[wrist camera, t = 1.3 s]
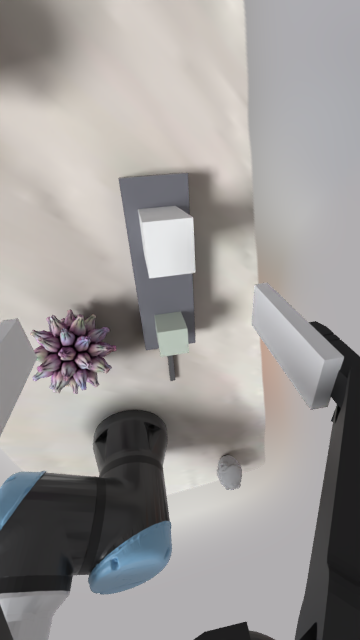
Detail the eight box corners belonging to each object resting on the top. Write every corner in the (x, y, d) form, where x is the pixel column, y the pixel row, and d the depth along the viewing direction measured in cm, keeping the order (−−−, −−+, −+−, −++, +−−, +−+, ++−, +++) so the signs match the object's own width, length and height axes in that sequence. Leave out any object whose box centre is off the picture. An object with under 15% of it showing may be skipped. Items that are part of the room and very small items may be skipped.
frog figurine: (211, 468, 67) (219, 496, 61) (214, 450, 64) (224, 479, 58) (234, 465, 69) (244, 493, 63) (238, 447, 65) (249, 475, 59)
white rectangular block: (176, 246, 36) (195, 272, 26) (143, 249, 36) (149, 278, 26) (173, 204, 34) (193, 217, 24) (137, 207, 33) (142, 222, 23)
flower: (95, 369, 47) (86, 424, 37) (26, 339, 42) (-7, 394, 32) (131, 321, 43) (133, 366, 33) (60, 282, 38) (36, 322, 28)
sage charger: (182, 333, 42) (188, 352, 37) (157, 337, 41) (160, 357, 37) (180, 311, 40) (187, 328, 35) (154, 315, 39) (157, 332, 35)
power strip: (192, 373, 51) (198, 391, 47) (151, 380, 50) (153, 399, 46) (181, 172, 34) (189, 172, 30) (119, 177, 33) (118, 178, 29)
